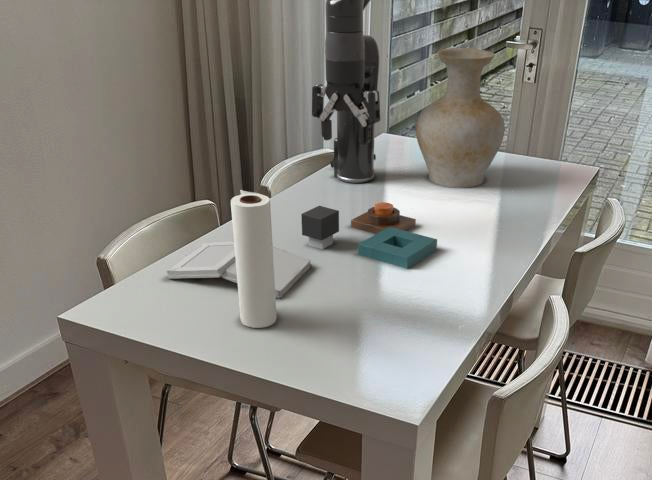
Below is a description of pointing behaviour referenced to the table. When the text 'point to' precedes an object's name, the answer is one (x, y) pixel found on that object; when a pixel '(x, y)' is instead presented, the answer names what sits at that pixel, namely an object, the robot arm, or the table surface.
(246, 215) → the paper towel roll
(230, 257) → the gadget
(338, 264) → the table surface
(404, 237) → the teal square frame
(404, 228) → the switch box
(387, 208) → the power button
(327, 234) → the black block
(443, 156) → the vase
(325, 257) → the table surface
